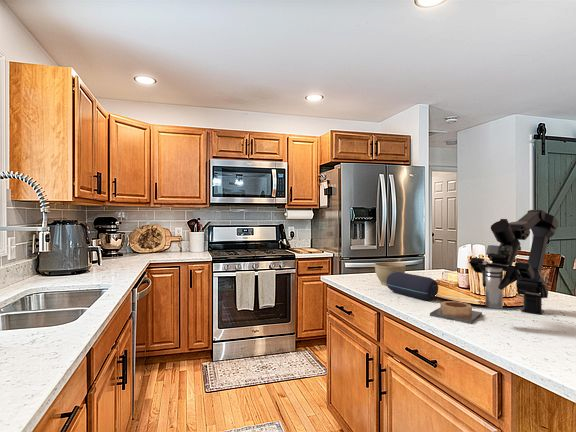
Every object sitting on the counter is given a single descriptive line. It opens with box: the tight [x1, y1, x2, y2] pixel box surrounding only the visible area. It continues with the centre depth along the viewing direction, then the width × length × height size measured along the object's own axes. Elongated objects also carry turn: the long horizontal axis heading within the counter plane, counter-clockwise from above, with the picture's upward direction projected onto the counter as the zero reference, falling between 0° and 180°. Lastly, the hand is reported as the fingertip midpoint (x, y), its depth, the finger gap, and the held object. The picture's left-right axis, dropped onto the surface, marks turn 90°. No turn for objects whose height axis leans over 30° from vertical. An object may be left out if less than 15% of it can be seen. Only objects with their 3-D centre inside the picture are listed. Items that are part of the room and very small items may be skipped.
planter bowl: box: [374, 261, 407, 286], centre depth 187 cm, size 16×16×11 cm
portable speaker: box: [386, 272, 439, 301], centre depth 160 cm, size 25×10×10 cm, turn 30°
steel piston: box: [484, 267, 504, 309], centre depth 117 cm, size 5×5×13 cm
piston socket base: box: [429, 300, 483, 324], centre depth 130 cm, size 14×14×4 cm
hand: (491, 287), depth 116 cm, fingers closed on steel piston, 5 cm apart
